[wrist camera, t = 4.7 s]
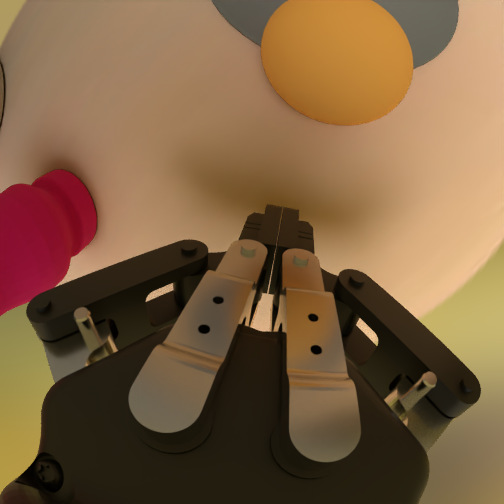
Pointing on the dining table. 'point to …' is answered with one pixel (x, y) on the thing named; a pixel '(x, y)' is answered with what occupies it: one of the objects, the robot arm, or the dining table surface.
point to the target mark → (396, 3)
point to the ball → (337, 59)
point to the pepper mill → (41, 234)
